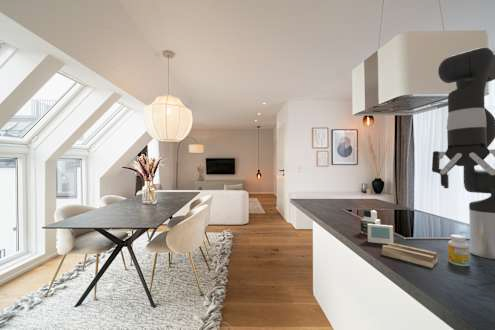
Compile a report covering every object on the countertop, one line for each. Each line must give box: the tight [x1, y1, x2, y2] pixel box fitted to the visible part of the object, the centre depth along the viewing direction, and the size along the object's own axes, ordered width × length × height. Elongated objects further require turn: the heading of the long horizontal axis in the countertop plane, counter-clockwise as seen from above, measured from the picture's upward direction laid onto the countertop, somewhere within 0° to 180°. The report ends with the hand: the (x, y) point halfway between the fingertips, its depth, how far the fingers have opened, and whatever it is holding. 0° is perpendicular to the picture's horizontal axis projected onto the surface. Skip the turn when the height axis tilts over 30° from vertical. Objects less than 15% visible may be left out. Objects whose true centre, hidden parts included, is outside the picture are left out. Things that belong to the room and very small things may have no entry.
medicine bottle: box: [360, 209, 381, 235], centre depth 120 cm, size 7×7×12 cm
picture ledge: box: [381, 242, 439, 269], centre depth 88 cm, size 8×16×3 cm, turn 40°
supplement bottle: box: [447, 234, 470, 267], centre depth 83 cm, size 5×5×10 cm
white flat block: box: [367, 224, 394, 245], centre depth 106 cm, size 2×10×8 cm, turn 65°
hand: (467, 189), depth 61 cm, fingers open, 8 cm apart
